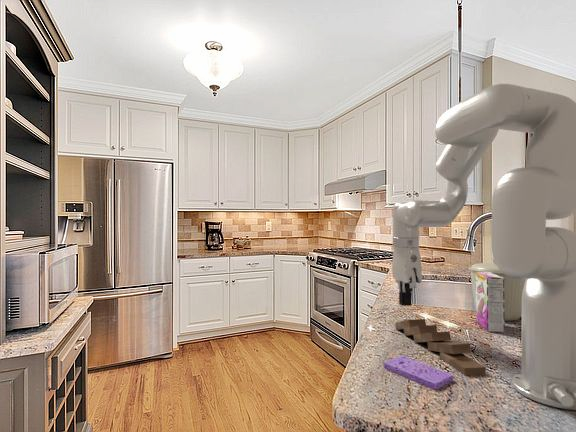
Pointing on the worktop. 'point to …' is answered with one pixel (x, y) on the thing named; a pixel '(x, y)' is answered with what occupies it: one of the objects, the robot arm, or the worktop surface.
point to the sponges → (418, 372)
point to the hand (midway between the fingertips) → (405, 304)
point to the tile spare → (463, 364)
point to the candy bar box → (490, 301)
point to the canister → (511, 289)
